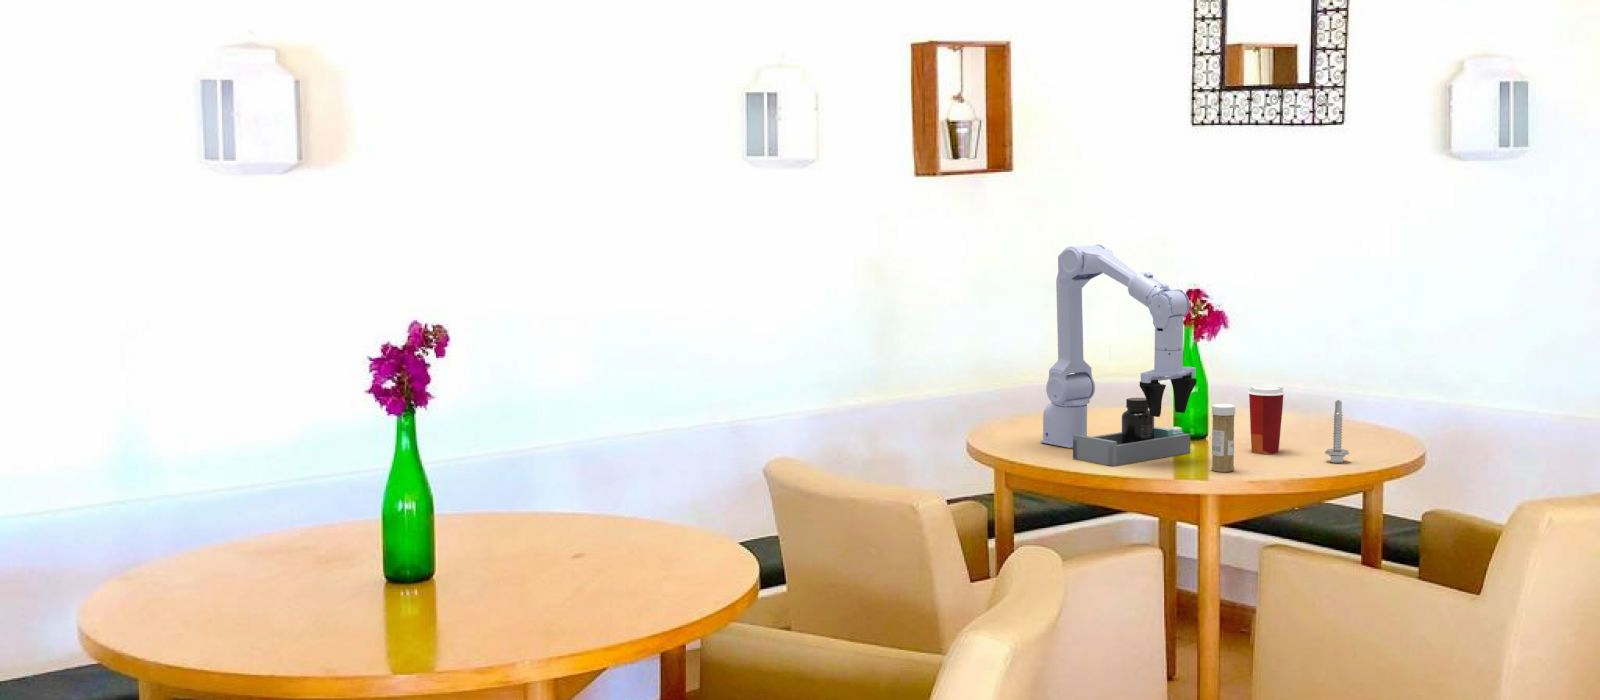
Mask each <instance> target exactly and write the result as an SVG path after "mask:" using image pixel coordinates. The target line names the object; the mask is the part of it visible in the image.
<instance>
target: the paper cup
mask: <svg viewBox="0 0 1600 700" xmlns="http://www.w3.org/2000/svg"><path fill="white" fill-rule="evenodd" d="M1246 393H1247V394H1248V396H1249V397H1248V398H1249V399H1248V400H1249V402H1248V403H1249V419H1250V420H1249V422H1250V423H1249V425H1250V426H1249V427H1250V444H1251V445H1250V447H1251V448H1250V450H1251V452H1252V453H1254V454H1259V455H1275V453H1276V454H1278V453H1279V452H1280V451H1279V449H1280V441H1281V439H1280V438H1281V431H1282V430H1281V427H1282V417H1283V408H1284V407H1283V406H1284V395H1285V394H1286V392H1285V391H1284V387H1283V386H1281V385H1276V384H1275V385H1274V384H1254V385H1250V387H1249V388H1248V391H1247V392H1246Z"/></svg>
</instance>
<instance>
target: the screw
mask: <svg viewBox="0 0 1600 700" xmlns="http://www.w3.org/2000/svg"><path fill="white" fill-rule="evenodd" d="M1342 403H1343V402H1342V400H1339V399H1337V400H1336V401H1334V413H1333V433H1332V435H1333V436H1332V437H1333V438H1332V440H1333V444H1332V448H1328V449H1326V450H1325V451H1324V454H1326V455H1328V456H1329V457H1330V463H1333V464H1341V463H1342V464H1343V463H1344V458H1345V457H1346V456H1348V455H1350V451H1349V450H1347V449H1344V448H1342V447H1343V446H1342V444H1343V440H1342V439H1343V437H1342V436H1343V434H1342V433H1343V429H1342V428H1343V419H1344V418H1343V414H1344V413H1343V411H1342V408H1343V407H1342V406H1343V405H1342ZM1342 413H1343V414H1342Z"/></svg>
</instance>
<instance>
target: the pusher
mask: <svg viewBox="0 0 1600 700" xmlns="http://www.w3.org/2000/svg"><path fill="white" fill-rule="evenodd" d="M1181 434H1185V432H1184V431H1182V427H1180V426H1171V427H1169V428H1163V427H1159V426H1154V439H1156V438H1162V437H1168V436H1175V435H1181Z"/></svg>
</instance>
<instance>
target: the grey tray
mask: <svg viewBox="0 0 1600 700" xmlns="http://www.w3.org/2000/svg"><path fill="white" fill-rule="evenodd" d="M1190 453H1191V434H1190V433H1184V434H1181V435H1175V436H1168V437H1162V438H1156V439H1150V440H1144V441H1138V442H1132V443H1126V444H1122V431H1120V432H1113V433H1107V434H1100V435H1096V436H1095V435H1094V436H1090V435H1089V436H1083V435H1073V448H1072V459H1073V460H1074V459H1075V460H1079V461H1083V462H1088V463H1094V464H1100V465H1104V466H1105V465H1106V466H1109V467H1117V466H1122V465H1127V464H1134V463H1138V462H1144V461H1146V462H1147V461H1150V460H1151V461H1152V460H1157V459H1162V458H1169V457H1173V456H1180V455H1186V454H1190Z"/></svg>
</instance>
